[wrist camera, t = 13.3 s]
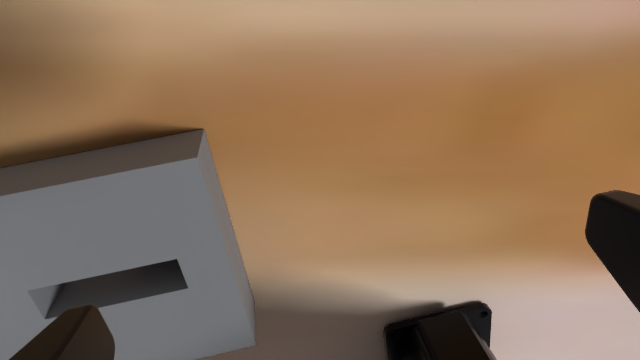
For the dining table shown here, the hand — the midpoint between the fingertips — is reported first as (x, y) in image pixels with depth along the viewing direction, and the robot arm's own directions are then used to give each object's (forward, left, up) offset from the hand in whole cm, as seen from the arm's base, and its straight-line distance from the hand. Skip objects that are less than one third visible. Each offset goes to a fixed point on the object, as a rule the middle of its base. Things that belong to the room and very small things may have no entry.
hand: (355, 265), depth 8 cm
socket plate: (-6, +14, -12) cm, 19 cm away
